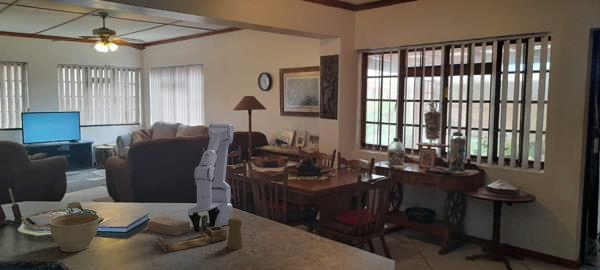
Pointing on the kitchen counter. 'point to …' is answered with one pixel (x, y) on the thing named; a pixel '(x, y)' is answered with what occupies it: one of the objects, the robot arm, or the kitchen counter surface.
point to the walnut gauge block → (216, 233)
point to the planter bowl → (74, 230)
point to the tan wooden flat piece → (185, 243)
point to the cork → (235, 233)
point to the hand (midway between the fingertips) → (204, 229)
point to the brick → (168, 225)
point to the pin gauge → (204, 223)
